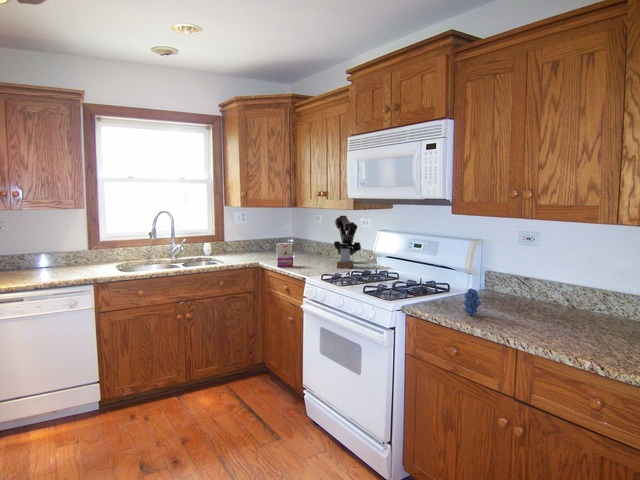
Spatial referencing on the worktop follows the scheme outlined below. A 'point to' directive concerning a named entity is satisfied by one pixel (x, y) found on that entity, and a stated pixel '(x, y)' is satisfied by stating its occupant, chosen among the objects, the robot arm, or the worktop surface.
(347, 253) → the small plastic crate
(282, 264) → the candy bar box
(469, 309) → the grapes
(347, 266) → the wooden crate
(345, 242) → the robot arm
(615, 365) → the worktop surface
